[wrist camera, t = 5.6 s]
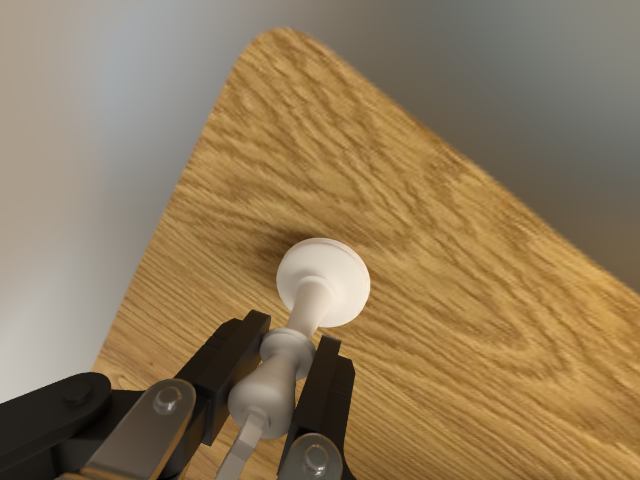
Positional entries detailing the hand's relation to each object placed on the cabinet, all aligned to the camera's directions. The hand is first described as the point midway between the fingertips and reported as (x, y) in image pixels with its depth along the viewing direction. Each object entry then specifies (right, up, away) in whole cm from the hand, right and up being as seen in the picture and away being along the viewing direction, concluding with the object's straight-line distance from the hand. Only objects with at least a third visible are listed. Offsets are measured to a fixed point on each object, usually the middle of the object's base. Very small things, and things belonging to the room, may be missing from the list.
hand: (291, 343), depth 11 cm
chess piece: (+1, +2, +5) cm, 5 cm away
